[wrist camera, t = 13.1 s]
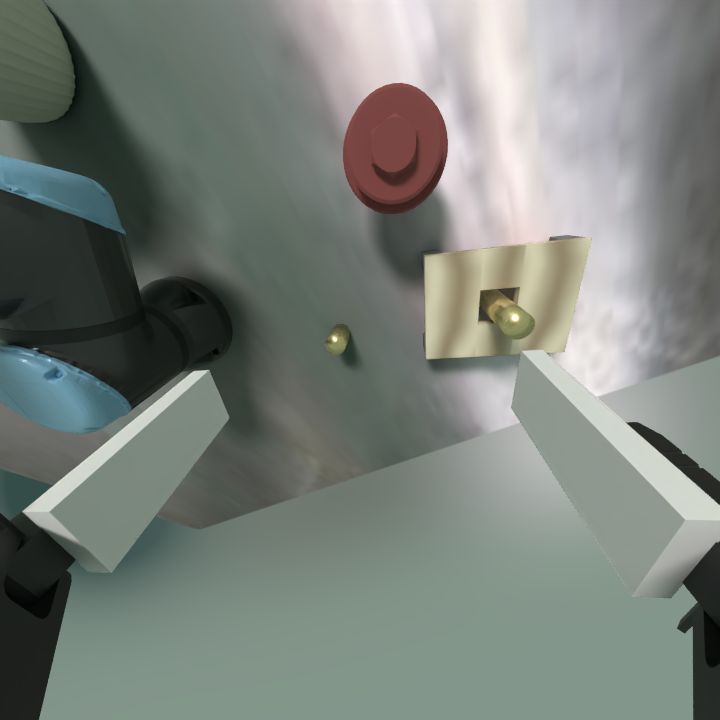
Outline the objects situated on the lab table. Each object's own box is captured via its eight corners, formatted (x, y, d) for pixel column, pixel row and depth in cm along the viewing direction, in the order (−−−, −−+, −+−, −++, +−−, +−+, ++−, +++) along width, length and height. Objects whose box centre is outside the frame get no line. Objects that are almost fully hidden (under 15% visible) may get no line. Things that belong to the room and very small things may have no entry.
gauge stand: (423, 344, 44) (426, 359, 39) (421, 251, 38) (424, 256, 33) (546, 337, 41) (564, 352, 37) (567, 235, 35) (591, 238, 30)
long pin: (474, 307, 40) (502, 340, 30) (476, 286, 39) (505, 313, 28) (496, 305, 40) (532, 338, 29) (498, 284, 38) (537, 311, 28)
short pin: (333, 341, 46) (327, 355, 41) (330, 324, 44) (323, 336, 40) (351, 340, 45) (346, 354, 41) (349, 323, 44) (343, 335, 39)
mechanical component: (414, 91, 30) (450, 183, 34) (339, 151, 33) (378, 229, 37) (423, 23, 19) (475, 169, 23) (311, 121, 23) (371, 236, 26)
